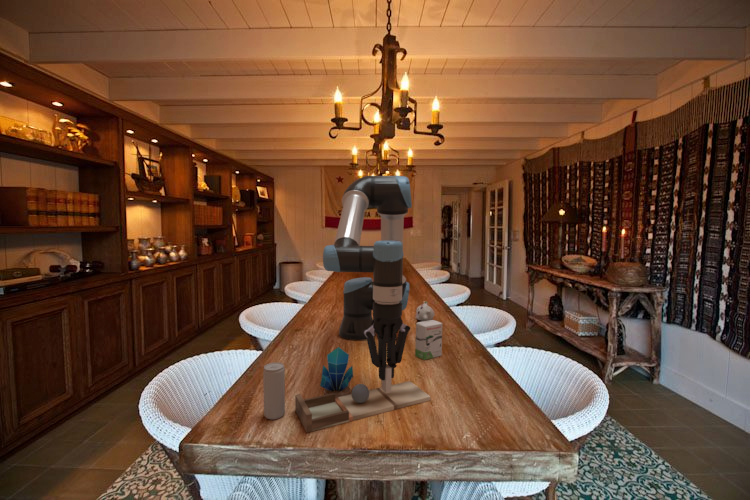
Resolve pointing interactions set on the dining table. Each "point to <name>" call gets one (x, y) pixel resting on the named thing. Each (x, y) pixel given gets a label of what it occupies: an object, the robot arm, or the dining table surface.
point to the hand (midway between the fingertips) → (386, 390)
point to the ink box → (428, 339)
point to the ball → (360, 393)
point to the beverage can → (274, 390)
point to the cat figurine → (424, 312)
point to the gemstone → (337, 374)
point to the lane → (355, 405)
